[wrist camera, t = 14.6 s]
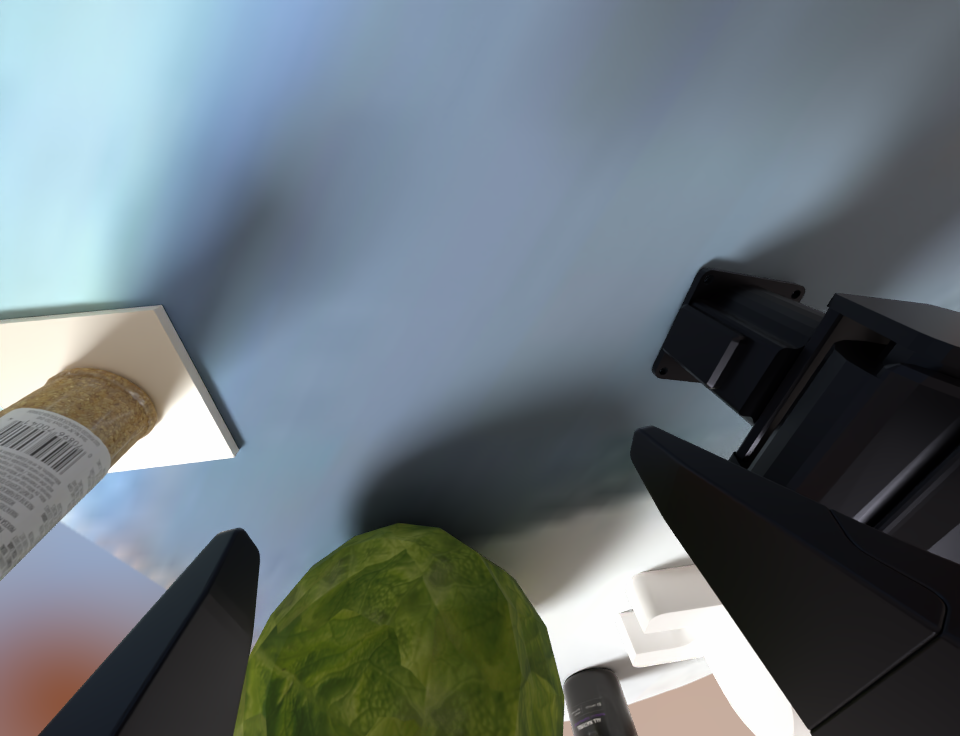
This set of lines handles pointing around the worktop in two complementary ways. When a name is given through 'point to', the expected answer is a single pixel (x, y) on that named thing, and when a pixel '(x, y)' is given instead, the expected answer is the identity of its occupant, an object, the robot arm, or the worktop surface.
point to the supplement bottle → (597, 704)
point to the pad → (132, 355)
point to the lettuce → (403, 647)
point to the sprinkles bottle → (62, 450)
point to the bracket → (703, 645)
